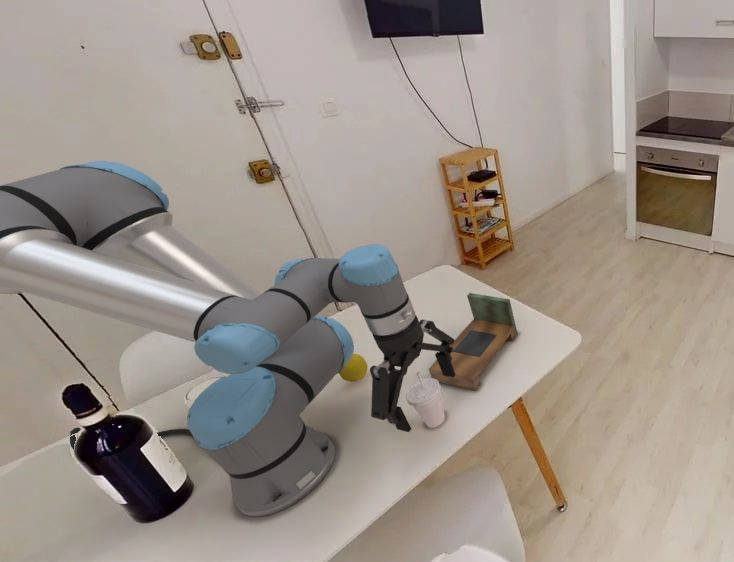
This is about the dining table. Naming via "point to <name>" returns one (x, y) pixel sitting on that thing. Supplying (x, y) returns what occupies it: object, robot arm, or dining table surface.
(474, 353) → the wooden board with backrest
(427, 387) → the smoothie
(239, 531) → the dining table surface
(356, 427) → the dining table surface
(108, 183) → the robot arm
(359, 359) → the lemon
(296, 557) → the dining table surface
